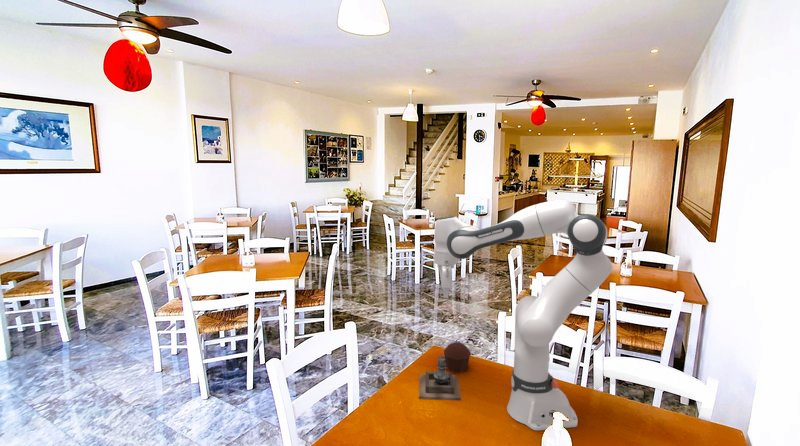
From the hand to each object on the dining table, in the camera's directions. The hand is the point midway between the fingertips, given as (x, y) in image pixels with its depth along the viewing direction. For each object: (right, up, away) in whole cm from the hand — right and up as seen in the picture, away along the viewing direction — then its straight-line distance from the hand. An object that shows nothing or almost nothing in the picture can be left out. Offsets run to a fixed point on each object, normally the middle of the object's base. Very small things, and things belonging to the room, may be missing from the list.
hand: (445, 293), depth 150 cm
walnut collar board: (-3, -36, -2) cm, 36 cm away
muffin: (+6, -34, +14) cm, 37 cm away
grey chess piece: (-2, -35, -1) cm, 35 cm away
